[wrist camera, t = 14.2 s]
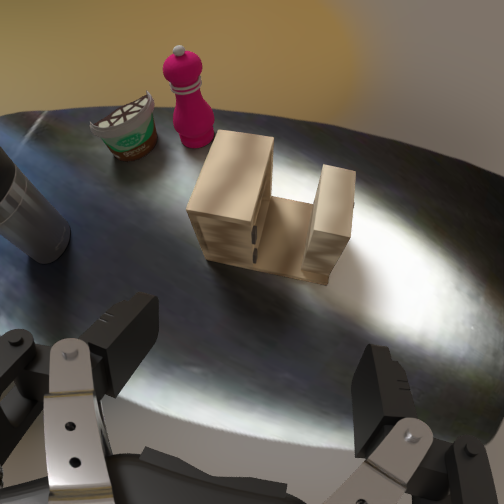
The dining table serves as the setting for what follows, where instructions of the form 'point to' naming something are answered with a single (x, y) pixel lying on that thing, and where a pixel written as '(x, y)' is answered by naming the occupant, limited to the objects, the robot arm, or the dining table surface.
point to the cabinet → (248, 210)
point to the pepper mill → (189, 98)
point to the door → (329, 220)
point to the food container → (129, 129)
